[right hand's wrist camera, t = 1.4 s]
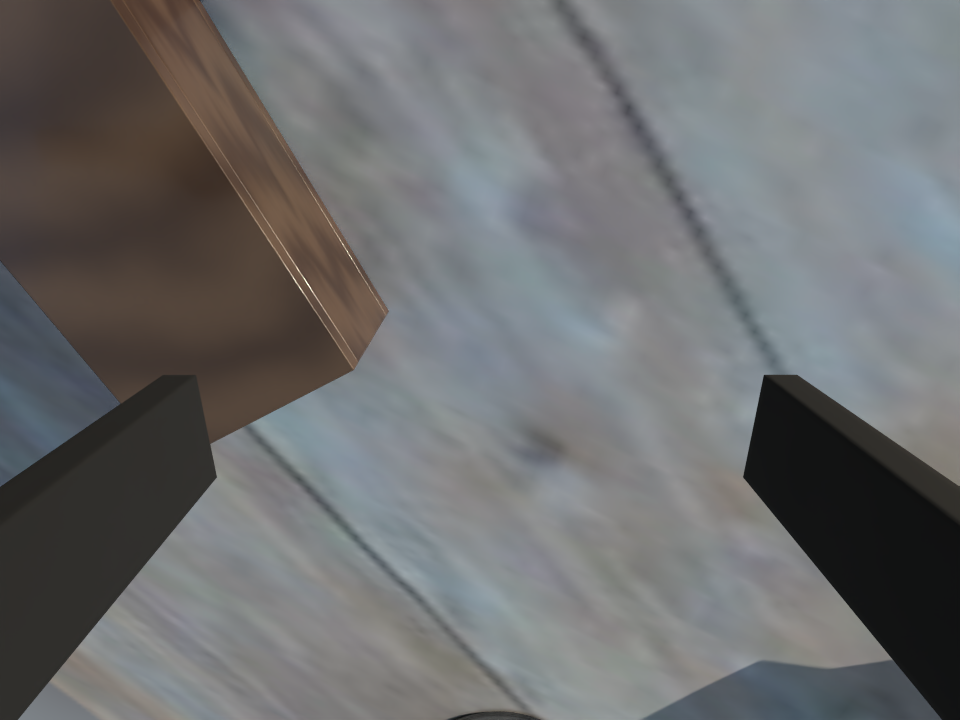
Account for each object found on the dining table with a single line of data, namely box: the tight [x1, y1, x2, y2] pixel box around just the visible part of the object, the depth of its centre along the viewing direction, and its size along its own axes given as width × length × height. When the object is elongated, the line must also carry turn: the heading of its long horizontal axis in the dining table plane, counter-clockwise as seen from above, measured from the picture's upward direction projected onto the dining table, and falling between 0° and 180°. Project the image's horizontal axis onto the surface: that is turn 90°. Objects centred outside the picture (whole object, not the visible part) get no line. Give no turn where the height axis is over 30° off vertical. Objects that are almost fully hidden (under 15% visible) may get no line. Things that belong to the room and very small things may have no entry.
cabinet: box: [0, 0, 389, 444], centre depth 28 cm, size 22×11×10 cm, turn 28°
